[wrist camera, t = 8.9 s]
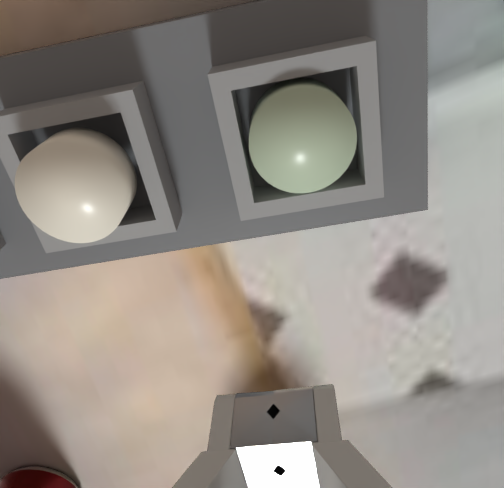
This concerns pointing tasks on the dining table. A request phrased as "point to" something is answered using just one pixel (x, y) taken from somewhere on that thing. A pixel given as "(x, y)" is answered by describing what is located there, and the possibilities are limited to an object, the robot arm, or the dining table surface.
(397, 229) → the dining table surface
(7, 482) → the soda can
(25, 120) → the panel
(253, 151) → the sage button
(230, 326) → the dining table surface
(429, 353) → the dining table surface
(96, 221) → the cream button
